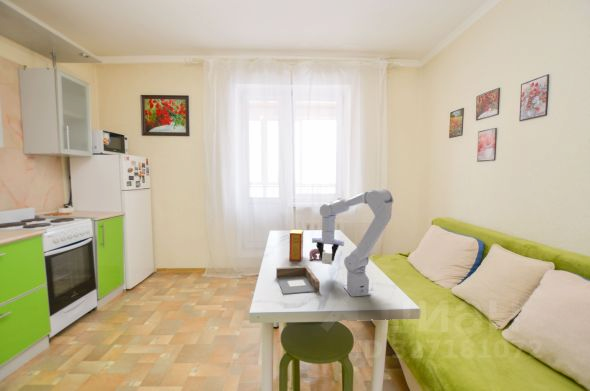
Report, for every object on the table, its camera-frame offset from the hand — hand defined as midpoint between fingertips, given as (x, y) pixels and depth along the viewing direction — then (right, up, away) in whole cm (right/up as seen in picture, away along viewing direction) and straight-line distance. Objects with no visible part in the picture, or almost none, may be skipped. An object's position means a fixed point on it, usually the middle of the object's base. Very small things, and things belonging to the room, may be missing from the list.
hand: (327, 259), depth 118 cm
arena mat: (-14, -10, -5) cm, 18 cm away
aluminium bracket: (+1, -2, +2) cm, 3 cm away
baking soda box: (-14, -7, +30) cm, 34 cm away
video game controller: (-2, -7, +29) cm, 30 cm away
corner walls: (-14, -10, -5) cm, 18 cm away
